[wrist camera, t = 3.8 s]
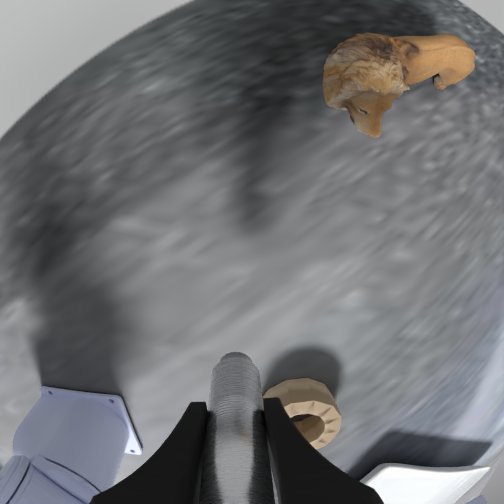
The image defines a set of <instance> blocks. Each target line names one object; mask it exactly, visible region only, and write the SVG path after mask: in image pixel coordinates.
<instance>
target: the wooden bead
mask: <svg viewBox="0 0 504 504" xmlns="http://www.w3.org/2000/svg"><path fill="white" fill-rule="evenodd" d="M273 397H278V398H280V400H281V402H282V405H283V407H284V408H285V410H286V412H287V414H288V415H289V417H290V418H291V417H293V416H295V415H301V414H308V413H309V414H312V415H311V416H310V417H308V418H306V419H304V420H302V421H298V422H293V423H294V424H295V426H296V427H297V428H298V430H299V431H300V432H301V434H302V435H303V436H304V437H305V438H306V439H307V441H308V442H309V443H310V444H311V445H312V446H313V447H314V448H315V449H316V450H317V449H319V448H321V447H323V446H325V445H327V444H328V443H329V442H330V441H331V440H332V439H333V438H334V437H335V435H336V434H337V433H338V432H339V430H340V424H341V418H342V417H341V415H340V412H339V410H338V407H337V405H336V403H335V400H334V398H333V395H332V394H331V392H330V391H329V390H328V388H327V387H326V386H325V384H324V383H321V382H318V381H315V380H312V379H309V378H300V379H291V380H285V381H283V382H281V383H279V384H278V385H276V386H274V387H272V388H270V389H268V390H267V392H266V393H265V394H264V396H263V397H262V399H263V398H273ZM263 408H264V406H263Z"/></svg>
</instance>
